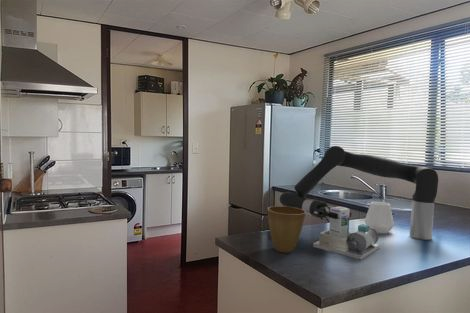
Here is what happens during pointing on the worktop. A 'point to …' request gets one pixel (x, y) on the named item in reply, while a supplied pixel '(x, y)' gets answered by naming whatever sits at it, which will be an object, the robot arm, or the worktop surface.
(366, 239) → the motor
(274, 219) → the plant pot
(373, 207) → the cup
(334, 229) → the syrup box
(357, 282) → the worktop surface
